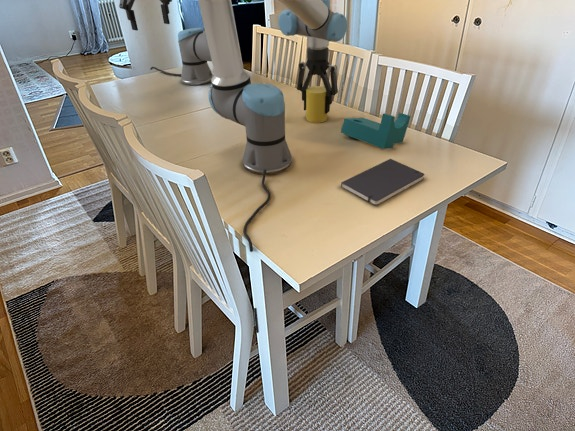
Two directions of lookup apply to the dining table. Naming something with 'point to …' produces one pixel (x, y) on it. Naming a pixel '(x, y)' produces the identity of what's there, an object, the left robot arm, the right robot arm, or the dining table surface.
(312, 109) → the can
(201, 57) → the left robot arm
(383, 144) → the teal l-shaped bracket
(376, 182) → the notebook
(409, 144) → the dining table surface
